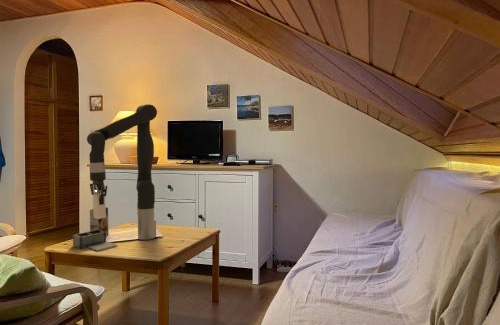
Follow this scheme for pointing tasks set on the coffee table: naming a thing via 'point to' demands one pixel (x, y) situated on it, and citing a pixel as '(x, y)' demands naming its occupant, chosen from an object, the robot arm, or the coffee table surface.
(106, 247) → the rubber mat
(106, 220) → the coffee box
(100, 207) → the square peg
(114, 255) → the coffee table surface
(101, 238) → the grey rectangular bin
